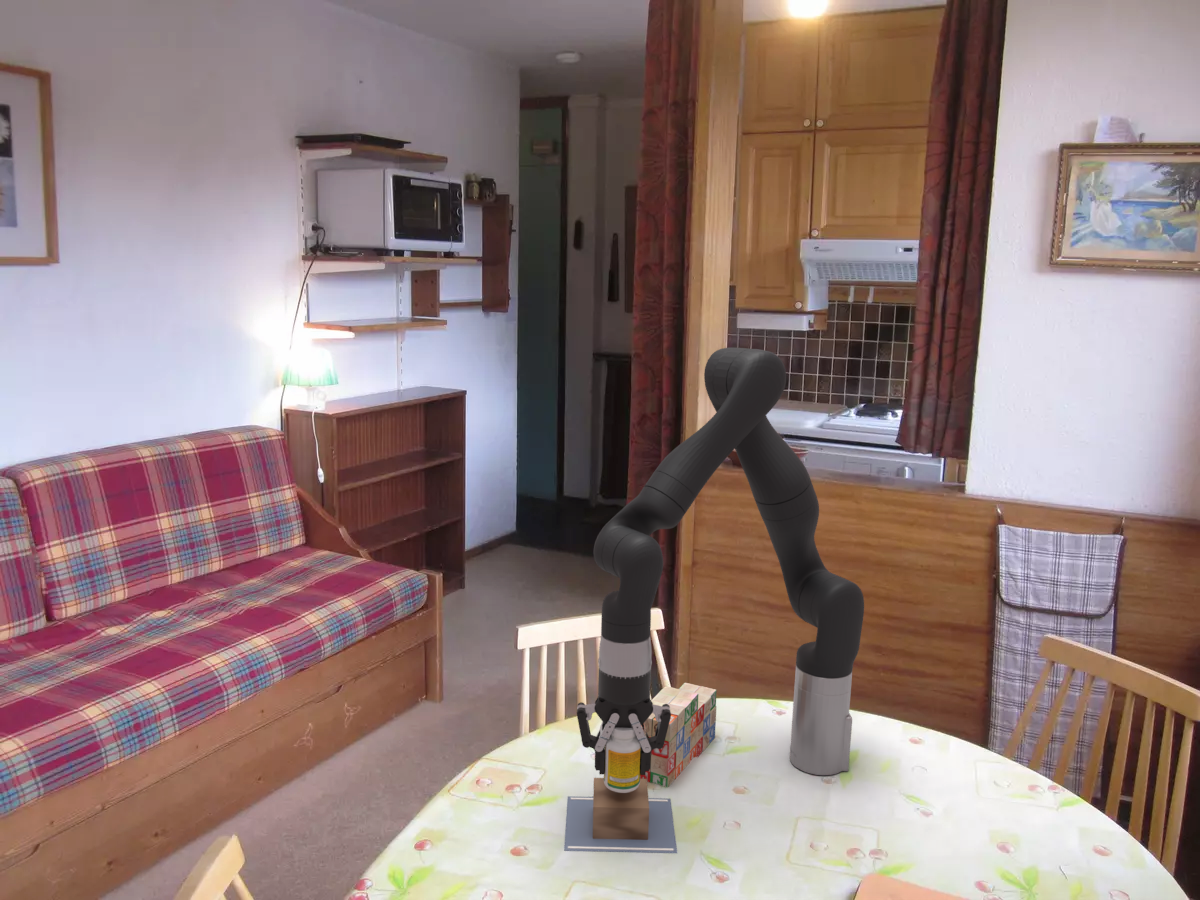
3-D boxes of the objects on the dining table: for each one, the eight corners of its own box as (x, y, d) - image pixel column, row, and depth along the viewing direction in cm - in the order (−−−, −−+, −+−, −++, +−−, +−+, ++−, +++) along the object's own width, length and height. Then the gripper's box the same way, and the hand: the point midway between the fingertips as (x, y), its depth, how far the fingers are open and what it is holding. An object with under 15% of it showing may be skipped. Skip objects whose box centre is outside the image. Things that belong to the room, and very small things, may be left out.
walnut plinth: (645, 808, 146) (646, 778, 145) (648, 839, 138) (649, 808, 137) (593, 807, 146) (593, 777, 145) (592, 838, 138) (593, 807, 137)
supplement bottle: (597, 779, 142) (598, 719, 140) (629, 771, 144) (631, 712, 142) (613, 797, 137) (615, 735, 135) (646, 789, 139) (648, 728, 138)
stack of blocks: (683, 729, 173) (685, 665, 171) (715, 738, 171) (718, 673, 168) (632, 784, 155) (634, 713, 152) (667, 794, 152) (670, 722, 150)
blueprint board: (670, 804, 149) (670, 797, 149) (677, 859, 135) (677, 852, 135) (567, 802, 149) (567, 795, 149) (564, 856, 135) (564, 849, 135)
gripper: (673, 654, 141) (669, 760, 144) (575, 652, 141) (573, 758, 144) (677, 676, 133) (672, 786, 137) (574, 674, 133) (572, 784, 137)
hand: (622, 771), depth 140 cm, fingers closed on supplement bottle, 5 cm apart
